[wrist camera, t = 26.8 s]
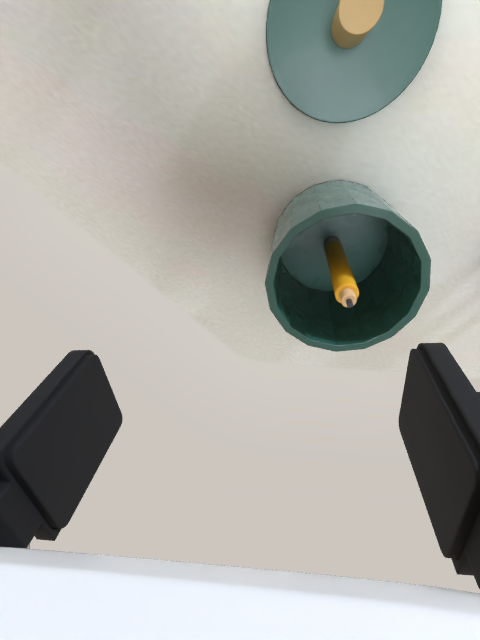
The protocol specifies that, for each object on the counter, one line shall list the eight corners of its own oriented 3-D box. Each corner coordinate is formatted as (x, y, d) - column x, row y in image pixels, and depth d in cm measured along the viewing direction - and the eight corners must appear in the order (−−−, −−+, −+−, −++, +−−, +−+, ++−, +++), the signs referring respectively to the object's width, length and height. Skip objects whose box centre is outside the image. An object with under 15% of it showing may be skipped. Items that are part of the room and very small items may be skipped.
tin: (252, 224, 34) (236, 262, 25) (360, 153, 29) (388, 167, 20) (309, 310, 37) (313, 370, 28) (411, 259, 33) (455, 310, 24)
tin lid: (236, 8, 26) (221, -20, 21) (393, -147, 21) (425, -234, 16) (315, 154, 30) (319, 161, 25) (461, 51, 25) (504, 33, 20)
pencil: (322, 237, 33) (335, 296, 22) (339, 233, 32) (362, 291, 21) (324, 253, 34) (338, 318, 23) (341, 250, 33) (364, 314, 22)
